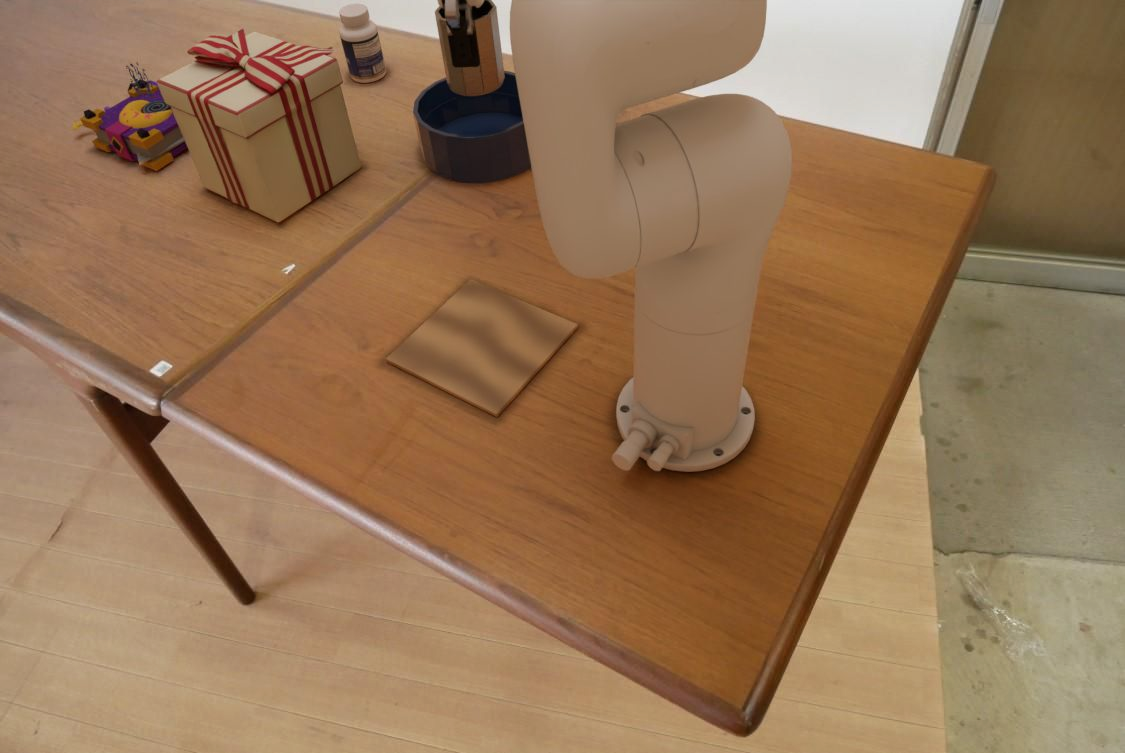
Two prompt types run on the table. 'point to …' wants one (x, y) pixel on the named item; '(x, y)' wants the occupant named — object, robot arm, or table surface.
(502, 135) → the dark blue round tub
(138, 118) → the lego model
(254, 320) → the table surface
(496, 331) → the plate
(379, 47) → the pill bottle
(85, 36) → the table surface
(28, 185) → the table surface
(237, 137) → the gift box
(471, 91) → the small pot
